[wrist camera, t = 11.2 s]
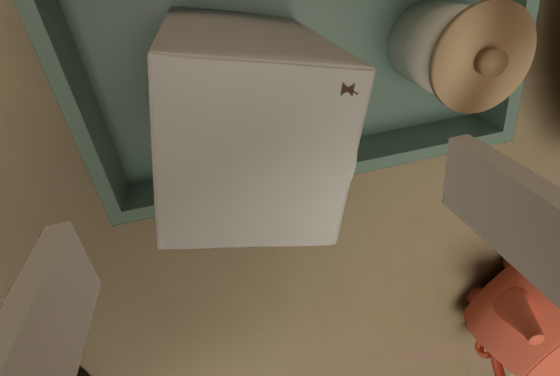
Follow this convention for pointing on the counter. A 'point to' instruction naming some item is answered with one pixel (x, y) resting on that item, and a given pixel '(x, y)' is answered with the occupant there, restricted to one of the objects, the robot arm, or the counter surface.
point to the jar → (419, 38)
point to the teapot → (515, 325)
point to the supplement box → (251, 130)
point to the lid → (482, 55)
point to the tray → (278, 3)
